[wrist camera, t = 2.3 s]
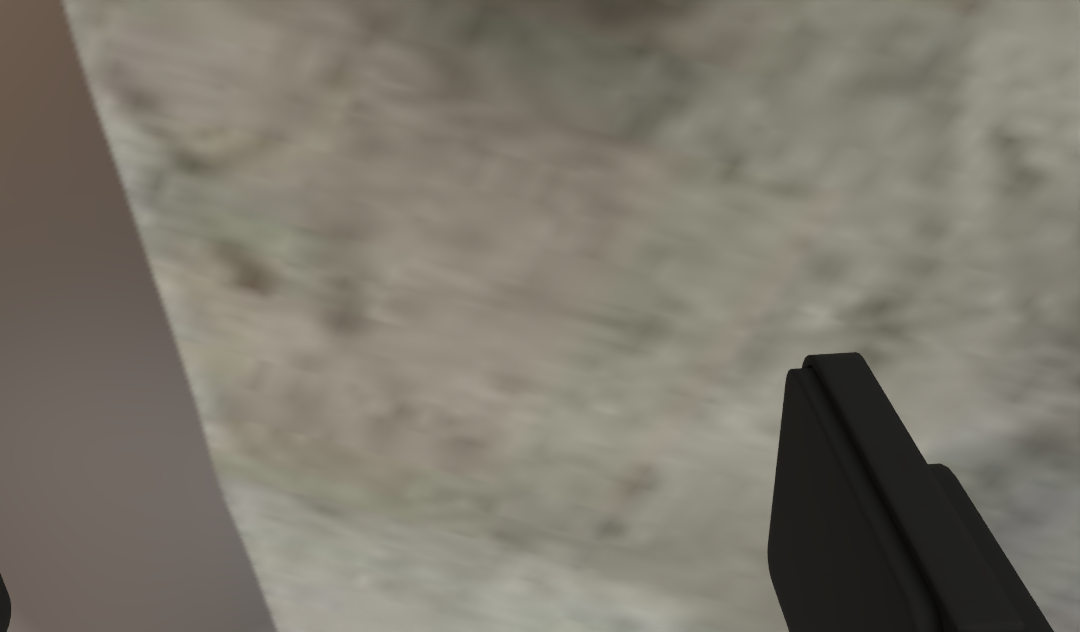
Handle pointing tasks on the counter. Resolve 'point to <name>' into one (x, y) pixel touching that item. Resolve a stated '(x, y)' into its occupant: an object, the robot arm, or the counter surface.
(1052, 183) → the counter surface
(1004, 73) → the counter surface
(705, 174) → the counter surface
